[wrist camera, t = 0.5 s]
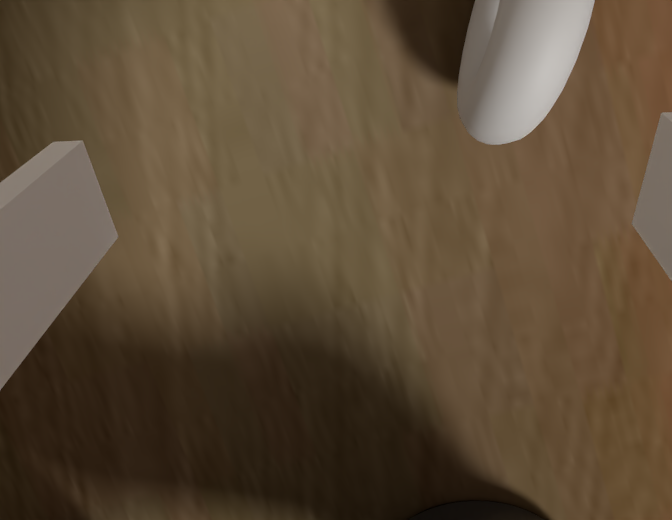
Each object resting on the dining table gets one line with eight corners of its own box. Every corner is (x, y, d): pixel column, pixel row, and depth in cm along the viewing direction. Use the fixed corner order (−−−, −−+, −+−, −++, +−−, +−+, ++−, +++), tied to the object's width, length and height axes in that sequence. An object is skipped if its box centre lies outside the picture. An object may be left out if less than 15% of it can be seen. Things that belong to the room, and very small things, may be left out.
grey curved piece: (484, -77, 27) (552, -166, 17) (553, -64, 27) (659, -145, 17) (436, 128, 30) (472, 150, 20) (498, 140, 30) (563, 166, 20)
